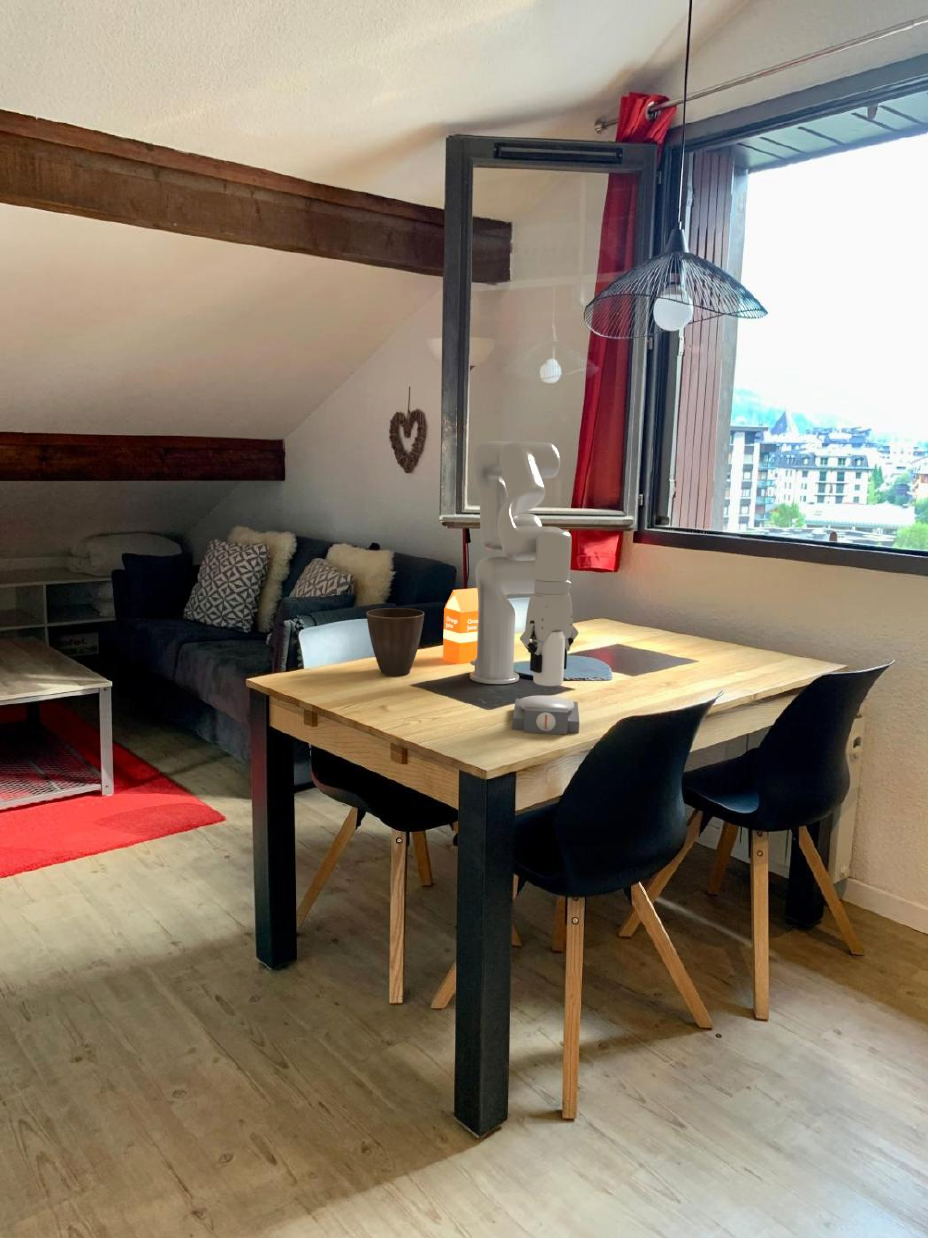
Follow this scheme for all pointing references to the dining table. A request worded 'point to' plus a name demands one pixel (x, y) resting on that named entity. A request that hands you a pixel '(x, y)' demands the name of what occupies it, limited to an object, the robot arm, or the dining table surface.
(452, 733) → the dining table surface
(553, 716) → the scale
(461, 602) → the orange juice
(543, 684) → the can
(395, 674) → the plant pot
